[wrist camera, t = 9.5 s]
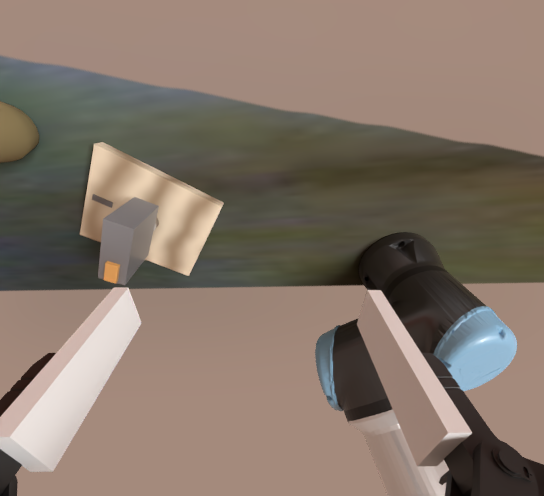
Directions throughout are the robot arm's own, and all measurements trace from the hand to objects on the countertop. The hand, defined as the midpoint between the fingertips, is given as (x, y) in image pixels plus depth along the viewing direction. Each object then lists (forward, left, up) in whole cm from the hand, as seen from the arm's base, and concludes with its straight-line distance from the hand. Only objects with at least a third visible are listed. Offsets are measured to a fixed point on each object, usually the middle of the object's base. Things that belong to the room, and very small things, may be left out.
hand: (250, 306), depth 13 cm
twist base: (+13, +16, -30) cm, 36 cm away
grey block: (+13, +16, -25) cm, 32 cm away
